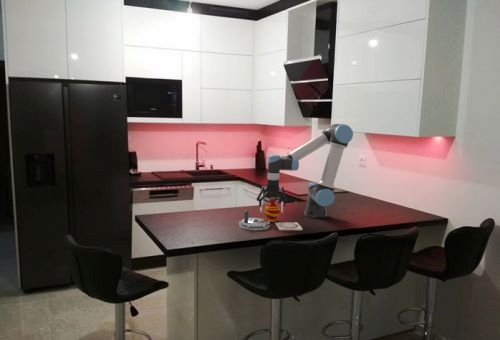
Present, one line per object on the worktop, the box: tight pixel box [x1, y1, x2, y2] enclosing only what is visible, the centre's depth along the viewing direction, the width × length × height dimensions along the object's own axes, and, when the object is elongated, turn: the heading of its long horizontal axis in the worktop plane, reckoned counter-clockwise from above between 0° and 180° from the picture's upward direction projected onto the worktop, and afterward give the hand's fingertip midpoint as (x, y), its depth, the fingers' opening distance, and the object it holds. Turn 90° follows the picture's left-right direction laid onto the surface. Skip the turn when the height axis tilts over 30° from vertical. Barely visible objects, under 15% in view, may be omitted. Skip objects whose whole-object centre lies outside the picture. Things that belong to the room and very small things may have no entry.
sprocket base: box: [238, 223, 271, 232], centre depth 252 cm, size 19×19×1 cm
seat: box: [275, 222, 303, 231], centre depth 253 cm, size 14×14×1 cm
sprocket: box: [238, 210, 270, 228], centre depth 251 cm, size 19×17×9 cm
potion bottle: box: [263, 197, 281, 223], centre depth 266 cm, size 10×10×15 cm
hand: (271, 211), depth 266 cm, fingers open, 13 cm apart
